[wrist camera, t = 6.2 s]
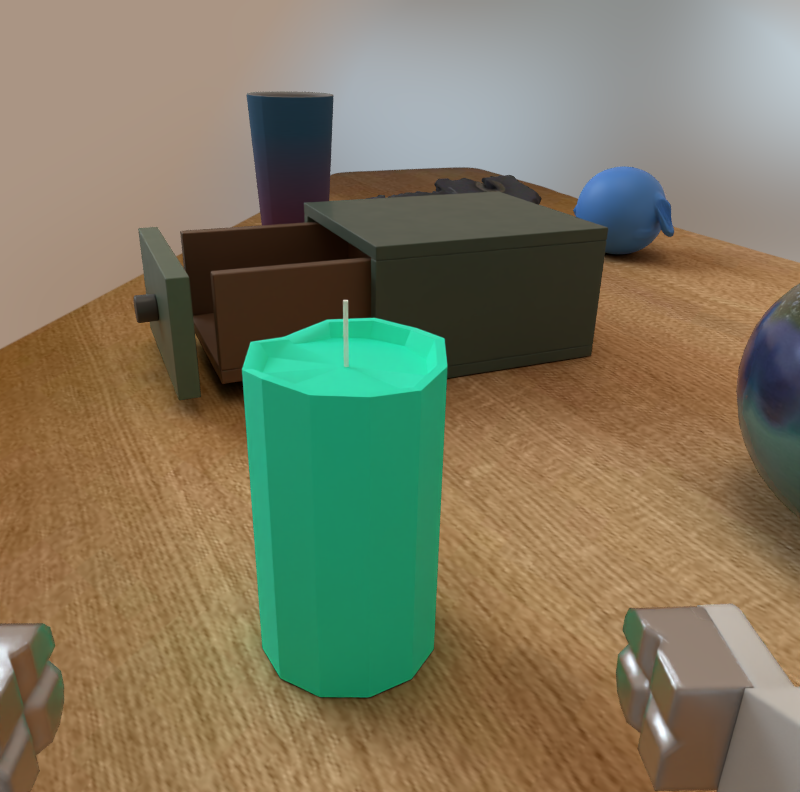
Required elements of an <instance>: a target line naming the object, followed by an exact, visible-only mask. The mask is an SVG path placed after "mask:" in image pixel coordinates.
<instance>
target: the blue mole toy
mask: <svg viewBox="0 0 800 792" xmlns="http://www.w3.org/2000/svg"><path fill="white" fill-rule="evenodd" d="M573 211H574V213H575V215H576V217H578V218H581V219H584V220H587V221H590V222H593V223H596V224H599V225H602V226H605V227H608V234H607V240H606V248H605V253H609V254H629V253H633V252H636V251H639V250H641V249H643V248H644V247H646V246H647V245H649V244H650V243H651V242H652V241H653V240H654V239H655V238H656V237H657V235H658V234H659V232H660V230H662V231H663V233H664V234H665V235H666V236H668V237H671V236H673V234H674V228H673V225H672V221H671V205H670V203H669V202H668V201H667V200H666V193H665V190H664V189H663V188H662V186H661V185H660V183H659V182H658V181H657V180H656V179H655V178H654V177H653V176H652V175H650V174H649V173H647V172H645V171H643V170H640V169H638V168H634V167H614V168H610V169H607V170H604V171H602V172H600V173H598V174H597V175H595V176H594V177H593V178H592V179H591V180H589V182H588V183H587V184H586V185H585V187H584V188H583V190H582V192H581V194H580V196H579V199H578V202H577V205H576V207H575V208H574V210H573Z"/></svg>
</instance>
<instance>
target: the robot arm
mask: <svg viewBox="0 0 800 792" xmlns="http://www.w3.org/2000/svg"><path fill="white" fill-rule="evenodd" d="M623 632H624V634H625V637H626V639H627V641H628V643H629V644H628V645H627V646H626V647H625V648H624V649H623V650H622V651H621V652H620V653H619V654H618V661H617V668H616V682H617V693H618V697H619V702H620V706H621V709H622V711H623V714H624V717H625V719H626V722H627V723H628V724H630V725H631V726H632V727H633V728H635V729H636V730H637V731H638V732H640V739H639V744H638V751H639V754H640V756H641V758H642V761H643V763H644V766H645V768H646V770H647V773H648V775H649V778H650V780H651V782H652V785H653V787H654V790H655V791H679V790H717V792H800V687H794V685H793V684H792V682H791V681H790V679H789V678H788V677H787V675H786V674H785V672H784V671H783V670H782V668H781V667H780V665H779V664H778V662H777V661H776V660H775V658H774V657H773V655H772V654H771V652H770V651H769V650H768V648H767V647H766V645H765V644H764V643H763V641H762V640H761V638H760V637H759V635H758V634H757V633H756V631H755V630H754V628H753V627H752V626H751V624H750V623H749V621H748V620H747V618H746V617H745V616H744V614H743V613H742V611H741V610H740V609H739V608H738V607H737V606H735V605H733V604H714V605H698V606H683V607H652V608H629V610H628V612H627V614H626V616H625V620H624V625H623ZM54 647H55V643H54V639H53V636H52V632H51V628H50V627H49V626H47V625H45V624H43V623H37V624H0V792H31V790H32V787H33V785H34V783H35V781H36V778H37V776H38V774H39V772H40V770H39V766H38V762H37V757H36V755H37V754H38V753H40V752H41V751H42V750H43V749H45V748H46V747H47V746H48V745H49V744H51V743H52V742H53V739H54V737H55V734H56V732H57V730H58V727H59V725H60V720H61V715H62V710H63V705H64V684H63V679H62V674H61V671H60V670H59V669H58V668H57V667H56V666H55V665H53V664H52V663H51V662H50V661H49V658H50V656H51V654H52V652H53V650H54Z"/></svg>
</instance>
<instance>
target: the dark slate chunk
mask: <svg viewBox="0 0 800 792" xmlns="http://www.w3.org/2000/svg"><path fill="white" fill-rule="evenodd" d="M482 182H483V183H484V184H483V183H480V182H475V181H473V180H470V179H467V178H462V179H460V180H455V181H452V180H449V179H438V180H437V181H436V183H435V184H434V185H435V186H436V191H433V193H427V192H419V191H417V192H416V193H404V194H399V195H392V196H391V197H390V196H389V197H388V198H393V197H410V196H428V195H445V194H463V193H480V192H497V191H498V192H502V193H505V194H508V195H511V196H514V197H517V198H520V199H523V200H526V201H529V202H532V203H535V204H538V205H539V204H540V201H541V197H540V196H539V195H538V193H537V192H535V191H534V190H532V189H530V188H529V187H527V186H525V185H524V184H522V183H520V182H519V181H518V180H516V178H515V177H514V176H511V175H506V176H498V177H493V176H490V178H483V179H482ZM376 198H385V196H384V195H378V196H377V197H372V198H367V199H376Z"/></svg>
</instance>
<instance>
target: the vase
mask: <svg viewBox="0 0 800 792" xmlns="http://www.w3.org/2000/svg"><path fill="white" fill-rule="evenodd" d="M736 392H737V405H738V417H739V425H740V429H741V432H742V436H743V439H744V442H745V446H746V448H747V450H748V452H749V455H750V457H751V459H752V461H753V463H754V465H755V467H756V469H757V471H758V473H759V475H760V476H761V477H762V479H763V480H764V481H765V483H766V484H767V485H768V487H769V488H770V489H771V490H772V492H773V493H774V494H775V496H776V497H777V498H778V499H779V500H780V501H781V502H782V503H783V504H784V505H785V506H786V507H787V508H788V509H789V510H790V511H792V512H793V513H794V514H795V515H796V516H798V517H799V518H800V284H798V285H796V286H794V287H793V288H792V289H791V290H789V291H788V292H787V293H786V294H785V295H783V296H782V297H781V298H780V299H779V300H777V301H776V302H775V303H774V304H773V305H772V306H771V307H770V308H769V309H768V310H767V311H766V312H765V314H764V315H763V316H762V318H761V319H760V321H759V322H758V323H757V325H756V326H755V328H754V330H753V332H752V334H751V336H750V338H749V340H748V342H747V345H746V347H745V349H744V353H743V356H742V359H741V363H740V366H739V370H738V380H737V390H736Z"/></svg>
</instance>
